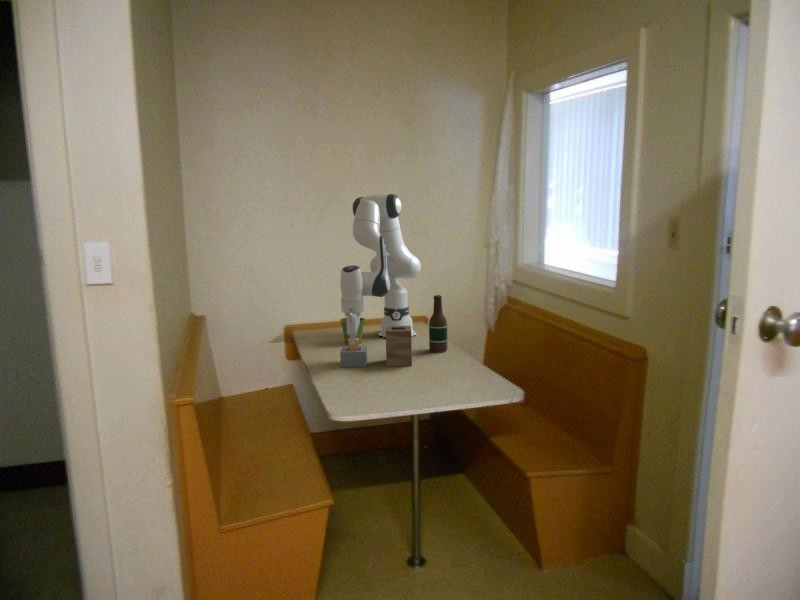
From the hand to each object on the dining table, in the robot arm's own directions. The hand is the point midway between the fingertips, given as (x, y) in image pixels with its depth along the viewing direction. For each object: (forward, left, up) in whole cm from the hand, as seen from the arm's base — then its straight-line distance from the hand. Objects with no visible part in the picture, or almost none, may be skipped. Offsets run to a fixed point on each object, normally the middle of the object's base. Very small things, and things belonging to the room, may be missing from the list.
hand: (353, 341), depth 239 cm
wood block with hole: (0, +18, -9) cm, 20 cm away
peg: (0, 0, -7) cm, 7 cm away
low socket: (0, 0, -9) cm, 9 cm away
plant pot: (-35, -3, -10) cm, 36 cm away
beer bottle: (-18, +35, -10) cm, 40 cm away
